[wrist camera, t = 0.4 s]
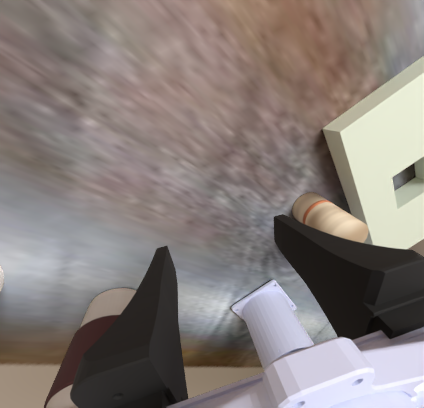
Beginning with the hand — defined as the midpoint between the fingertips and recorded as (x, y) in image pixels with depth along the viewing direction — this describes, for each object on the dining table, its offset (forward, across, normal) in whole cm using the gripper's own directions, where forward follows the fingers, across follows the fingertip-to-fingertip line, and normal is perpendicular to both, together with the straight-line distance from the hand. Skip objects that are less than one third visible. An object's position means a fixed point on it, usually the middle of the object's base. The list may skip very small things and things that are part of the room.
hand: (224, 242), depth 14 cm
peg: (+10, -13, +6) cm, 17 cm away
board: (+10, -25, +5) cm, 28 cm away
